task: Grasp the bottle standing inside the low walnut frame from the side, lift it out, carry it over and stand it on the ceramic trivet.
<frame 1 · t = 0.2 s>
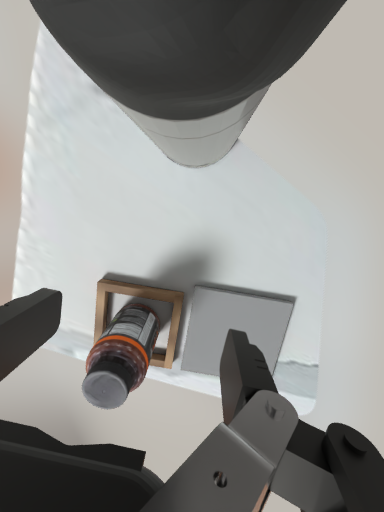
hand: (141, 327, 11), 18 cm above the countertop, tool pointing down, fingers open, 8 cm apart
trivet: (233, 335, 31), on the countertop
walnut frame: (138, 322, 31), on the countertop
supplement bottle: (139, 321, 31), resting in walnut frame
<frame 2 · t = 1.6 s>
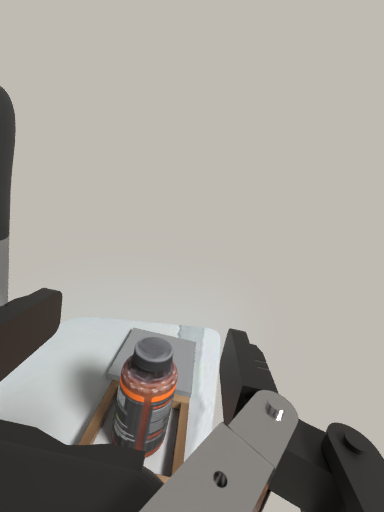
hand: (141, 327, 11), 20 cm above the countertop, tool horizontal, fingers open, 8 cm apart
trivet: (157, 359, 39), on the countertop
walnut frame: (138, 433, 27), on the countertop
supplement bottle: (138, 434, 27), resting in walnut frame
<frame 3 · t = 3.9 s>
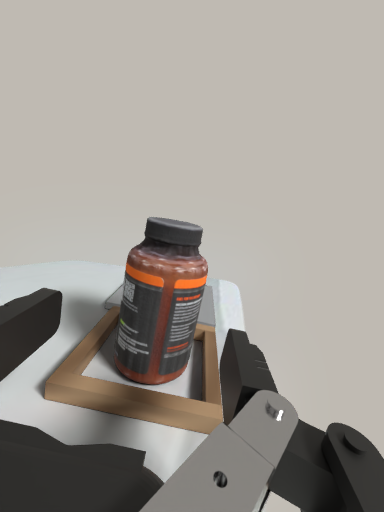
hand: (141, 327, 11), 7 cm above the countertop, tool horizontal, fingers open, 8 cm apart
trivet: (167, 298, 31), on the countertop
walnut frame: (150, 359, 19), on the countertop
supplement bottle: (150, 362, 19), resting in walnut frame
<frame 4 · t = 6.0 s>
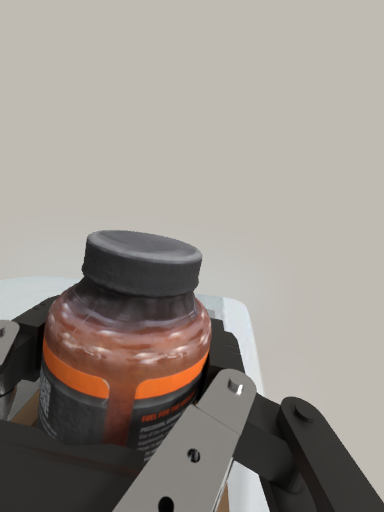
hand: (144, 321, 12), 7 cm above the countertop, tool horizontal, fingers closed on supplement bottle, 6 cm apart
walnut frame: (108, 481, 11), on the countertop
supplement bottle: (108, 484, 11), resting in walnut frame, touching gripper
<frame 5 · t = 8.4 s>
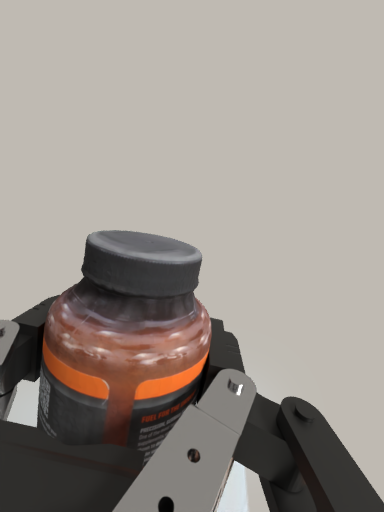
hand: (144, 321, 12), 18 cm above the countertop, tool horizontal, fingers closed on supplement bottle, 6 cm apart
supplement bottle: (108, 484, 11), point 11 cm above the countertop, touching gripper
when the fingers open (8 cm above the countertop, at t = 10.7 s): supplement bottle stays where it is, resting on trivet.
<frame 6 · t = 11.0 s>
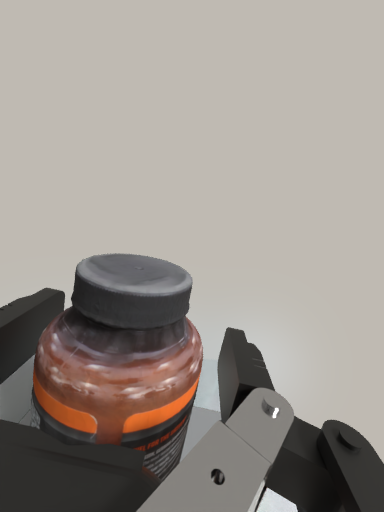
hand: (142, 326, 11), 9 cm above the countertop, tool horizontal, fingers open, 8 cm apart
trivet: (103, 508, 11), on the countertop
supplement bottle: (102, 503, 11), point 1 cm above the countertop, touching trivet
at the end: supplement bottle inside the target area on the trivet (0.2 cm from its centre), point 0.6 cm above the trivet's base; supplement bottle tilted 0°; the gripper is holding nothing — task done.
